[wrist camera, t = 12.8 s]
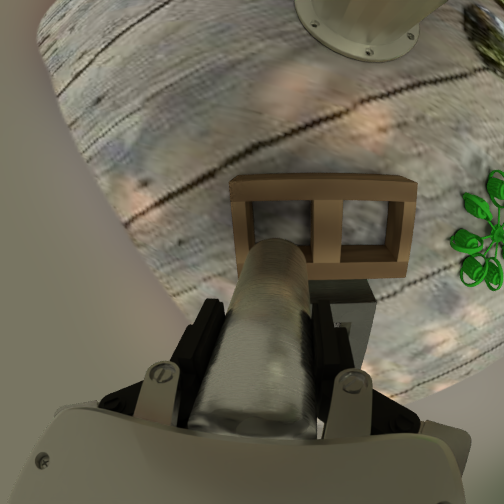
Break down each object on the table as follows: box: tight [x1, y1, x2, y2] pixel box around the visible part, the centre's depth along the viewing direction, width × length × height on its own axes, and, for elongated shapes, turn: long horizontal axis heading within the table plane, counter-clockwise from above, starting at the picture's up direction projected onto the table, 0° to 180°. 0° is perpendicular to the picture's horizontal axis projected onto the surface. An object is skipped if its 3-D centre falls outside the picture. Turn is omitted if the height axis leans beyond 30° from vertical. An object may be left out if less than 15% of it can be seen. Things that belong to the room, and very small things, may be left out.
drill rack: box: [229, 173, 418, 280], centre depth 24 cm, size 9×16×4 cm, turn 94°
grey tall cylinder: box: [188, 238, 317, 440], centre depth 12 cm, size 4×4×12 cm
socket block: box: [308, 279, 377, 370], centre depth 30 cm, size 18×10×5 cm, turn 4°
